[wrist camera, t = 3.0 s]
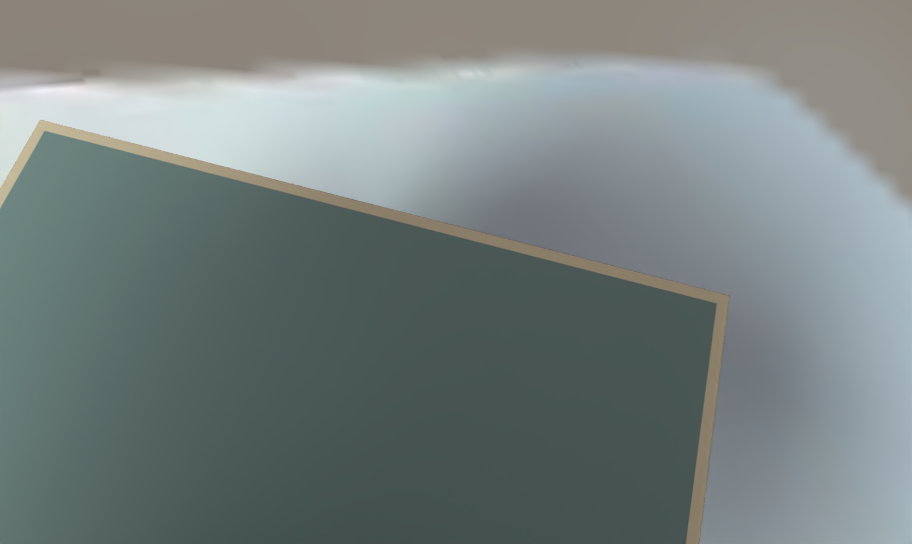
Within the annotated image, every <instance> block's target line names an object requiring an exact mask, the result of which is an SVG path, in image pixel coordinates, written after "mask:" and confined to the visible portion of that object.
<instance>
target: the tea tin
mask: <svg viewBox="0 0 912 544" xmlns="http://www.w3.org/2000/svg"><path fill="white" fill-rule="evenodd" d="M728 304H729V295H725V294H721V293H717V292H713V291H709V290H705V289H701V288H697V287H694V286H690V285H686V284H682V283H678V282H674V281H670V280H666V279H662V278H658V277H654V276H650V275H647V274H643V273H639V272H635V271H631V270H627V269H623V268H619V267H615V266H611V265H607V264H603V263H600V262H596V261H592V260H588V259H584V258H580V257H576V256H572V255H568V254H564V253H560V252H557V251H553V250H549V249H545V248H541V247H537V246H533V245H529V244H525V243H521V242H517V241H513V240H510V239H506V238H502V237H498V236H494V235H490V234H486V233H482V232H478V231H474V230H470V229H466V228H463V227H459V226H455V225H451V224H447V223H443V222H439V221H435V220H431V219H427V218H423V217H420V216H416V215H412V214H408V213H404V212H400V211H396V210H392V209H388V208H384V207H380V206H376V205H373V204H369V203H365V202H361V201H357V200H353V199H349V198H345V197H341V196H337V195H333V194H329V193H326V192H322V191H318V190H314V189H310V188H306V187H302V186H298V185H294V184H290V183H286V182H282V181H279V180H275V179H271V178H267V177H263V176H259V175H255V174H251V173H247V172H243V171H239V170H236V169H232V168H228V167H224V166H220V165H216V164H212V163H208V162H204V161H200V160H196V159H192V158H189V157H185V156H181V155H177V154H173V153H169V152H165V151H161V150H157V149H153V148H149V147H145V146H142V145H138V144H134V143H130V142H126V141H122V140H118V139H114V138H110V137H106V136H102V135H99V134H95V133H91V132H87V131H83V130H79V129H75V128H71V127H67V126H63V125H59V124H55V123H52V122H48V121H44V120H40V121H39V123H38V124H37V126H36V128H35V130H34V131H33V133H32V135H31V136H30V138H29V140H28V142H27V143H26V145H25V147H24V149H23V150H22V152H21V154H20V155H19V157H18V159H17V161H16V162H15V164H14V166H13V168H12V169H11V171H10V173H9V174H8V176H7V178H6V180H5V181H4V183H3V185H2V186H1V188H0V544H699V541H700V533H701V525H702V517H703V508H704V500H705V492H706V484H707V476H708V467H709V459H710V451H711V443H712V435H713V427H714V418H715V410H716V402H717V394H718V386H719V378H720V369H721V361H722V353H723V345H724V337H725V328H726V320H727V312H728Z"/></svg>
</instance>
